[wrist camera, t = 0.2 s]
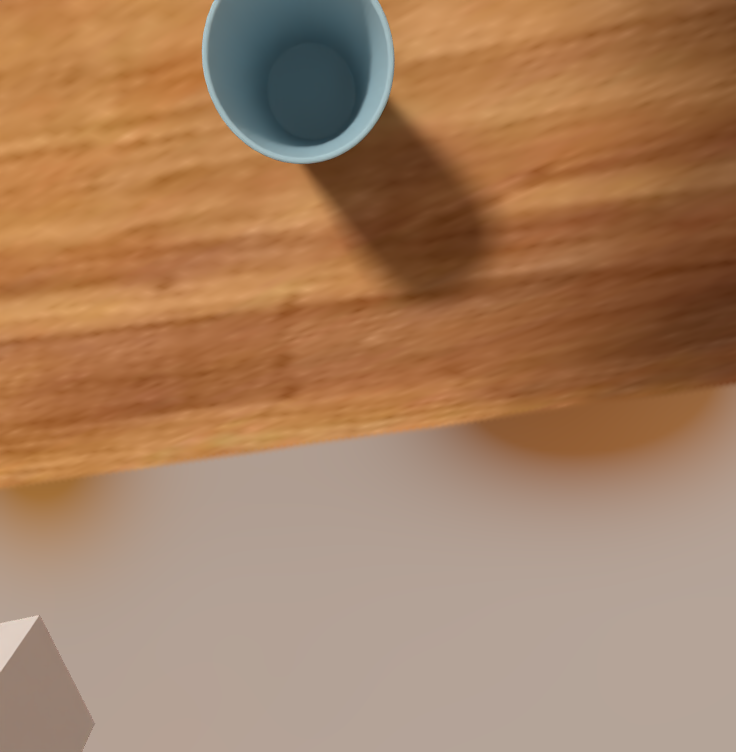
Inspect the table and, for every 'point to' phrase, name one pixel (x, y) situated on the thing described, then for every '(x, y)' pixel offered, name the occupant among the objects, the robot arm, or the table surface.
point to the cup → (298, 73)
